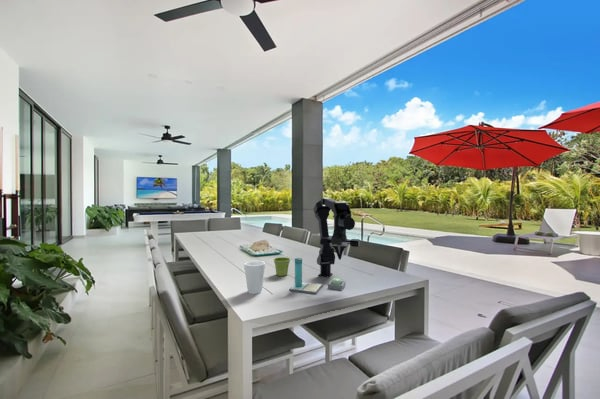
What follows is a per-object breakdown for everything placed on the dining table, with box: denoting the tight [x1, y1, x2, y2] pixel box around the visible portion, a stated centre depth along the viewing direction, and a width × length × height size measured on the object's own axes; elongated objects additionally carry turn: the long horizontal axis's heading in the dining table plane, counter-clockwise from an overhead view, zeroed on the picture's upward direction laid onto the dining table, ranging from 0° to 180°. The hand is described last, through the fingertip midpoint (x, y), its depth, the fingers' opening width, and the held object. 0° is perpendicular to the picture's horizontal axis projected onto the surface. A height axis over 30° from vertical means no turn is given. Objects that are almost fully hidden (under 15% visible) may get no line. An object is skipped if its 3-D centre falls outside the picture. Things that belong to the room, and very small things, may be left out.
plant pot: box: [273, 256, 291, 277], centre depth 157 cm, size 9×9×9 cm
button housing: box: [327, 279, 346, 291], centre depth 137 cm, size 7×7×2 cm
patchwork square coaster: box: [288, 281, 324, 295], centre depth 134 cm, size 13×13×1 cm
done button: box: [331, 278, 342, 285], centre depth 137 cm, size 4×4×3 cm
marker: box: [294, 257, 303, 287], centre depth 134 cm, size 4×4×13 cm
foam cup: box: [243, 260, 266, 295], centre depth 130 cm, size 10×9×13 cm
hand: (339, 259), depth 138 cm, fingers closed
